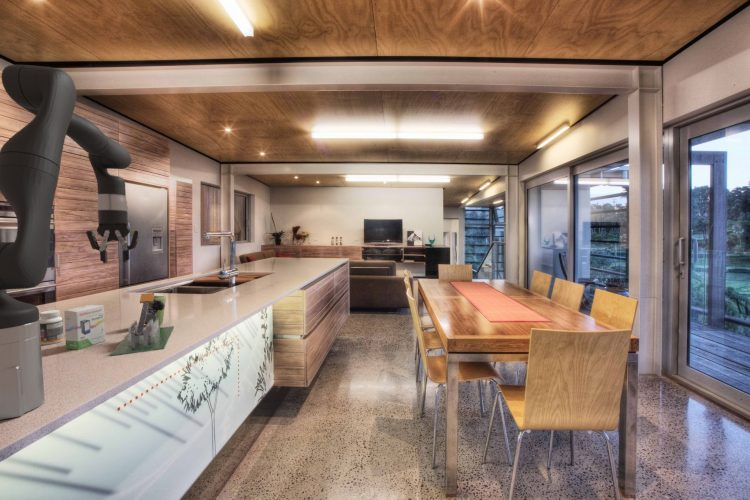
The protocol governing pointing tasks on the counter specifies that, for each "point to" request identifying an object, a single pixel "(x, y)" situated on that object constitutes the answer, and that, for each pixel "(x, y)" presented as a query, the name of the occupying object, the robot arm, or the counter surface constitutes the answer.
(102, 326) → the ink box
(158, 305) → the beverage can
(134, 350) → the heatsink board
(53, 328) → the pill bottle
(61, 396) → the counter surface
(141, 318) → the grey and orange bar
